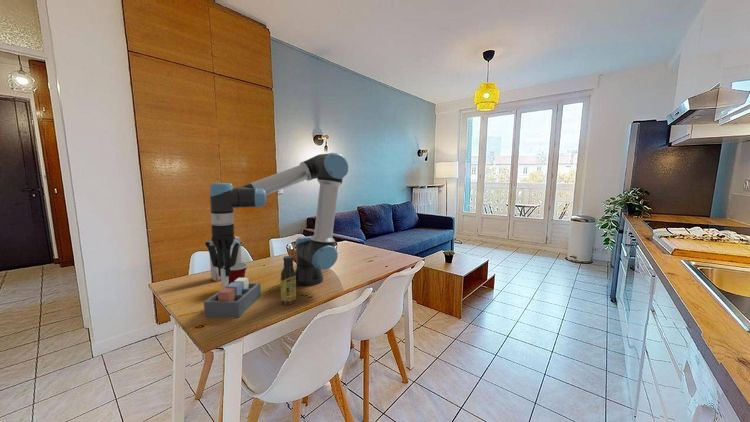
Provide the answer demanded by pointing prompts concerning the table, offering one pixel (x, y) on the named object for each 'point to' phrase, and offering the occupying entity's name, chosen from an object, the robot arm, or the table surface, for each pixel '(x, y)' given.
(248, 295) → the grey compartment tray
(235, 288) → the light blue block
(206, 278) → the table surface
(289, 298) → the sauce bottle
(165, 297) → the table surface
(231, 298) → the salmon red block
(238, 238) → the cracker box
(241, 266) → the plastic cup
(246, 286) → the white block
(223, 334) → the table surface
